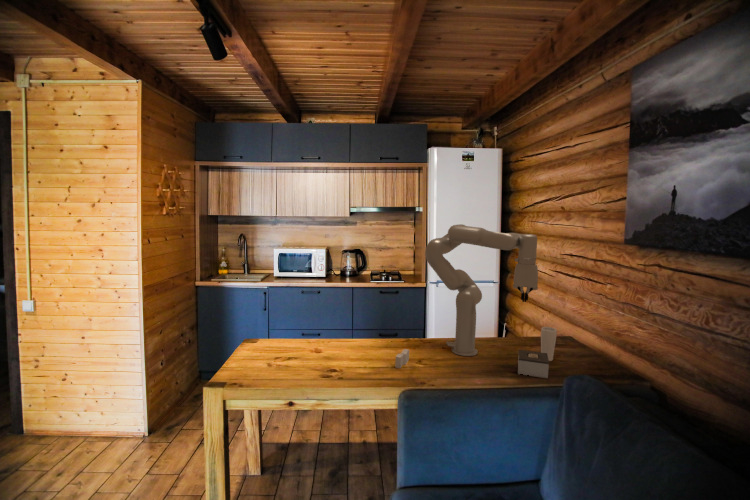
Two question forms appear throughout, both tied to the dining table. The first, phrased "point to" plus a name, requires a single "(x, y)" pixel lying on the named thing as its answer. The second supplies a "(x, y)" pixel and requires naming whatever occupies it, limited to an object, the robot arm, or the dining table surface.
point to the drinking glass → (548, 341)
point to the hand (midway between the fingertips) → (524, 301)
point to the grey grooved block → (402, 358)
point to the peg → (533, 355)
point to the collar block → (533, 364)
